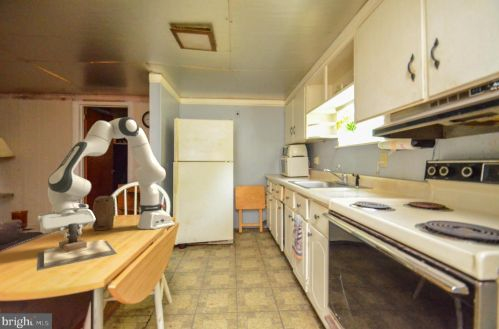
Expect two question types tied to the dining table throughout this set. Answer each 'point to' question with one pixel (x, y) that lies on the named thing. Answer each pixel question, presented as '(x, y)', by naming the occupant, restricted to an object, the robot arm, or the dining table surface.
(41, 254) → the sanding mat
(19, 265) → the dining table surface
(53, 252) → the board
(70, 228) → the sanding block
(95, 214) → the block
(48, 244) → the dining table surface
